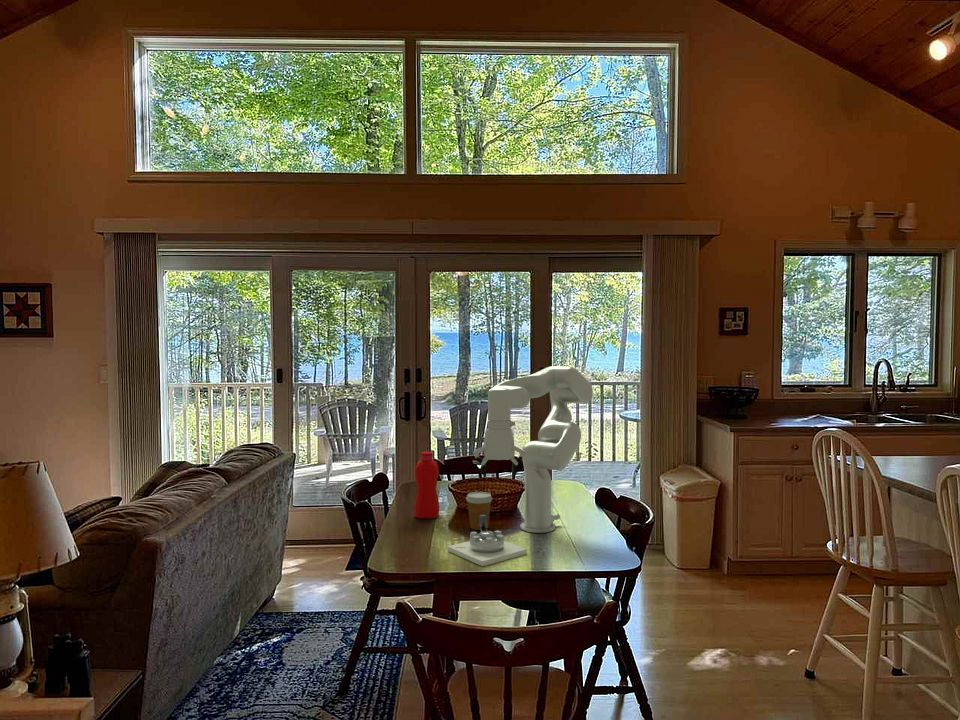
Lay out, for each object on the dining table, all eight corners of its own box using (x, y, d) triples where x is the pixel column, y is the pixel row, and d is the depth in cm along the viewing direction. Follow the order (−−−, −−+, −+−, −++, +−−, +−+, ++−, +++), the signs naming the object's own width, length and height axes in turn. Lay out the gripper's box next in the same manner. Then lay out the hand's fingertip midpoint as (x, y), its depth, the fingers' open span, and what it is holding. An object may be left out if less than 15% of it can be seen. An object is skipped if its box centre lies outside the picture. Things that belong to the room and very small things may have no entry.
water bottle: (440, 512, 252) (440, 449, 251) (437, 519, 241) (437, 454, 240) (417, 511, 252) (417, 449, 252) (413, 519, 241) (413, 454, 241)
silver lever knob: (507, 551, 199) (506, 526, 199) (472, 553, 197) (472, 528, 197) (498, 537, 213) (498, 514, 213) (466, 539, 212) (466, 515, 212)
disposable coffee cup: (462, 525, 234) (462, 493, 233) (486, 522, 237) (486, 490, 237) (471, 532, 225) (471, 498, 224) (496, 529, 228) (496, 496, 228)
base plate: (490, 540, 216) (490, 535, 216) (526, 553, 202) (526, 548, 202) (447, 550, 205) (447, 546, 205) (482, 566, 191) (482, 561, 191)
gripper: (523, 423, 215) (523, 474, 215) (472, 424, 214) (472, 474, 214) (526, 426, 207) (526, 478, 207) (473, 426, 206) (473, 479, 207)
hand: (499, 476), depth 211 cm, fingers open, 9 cm apart
